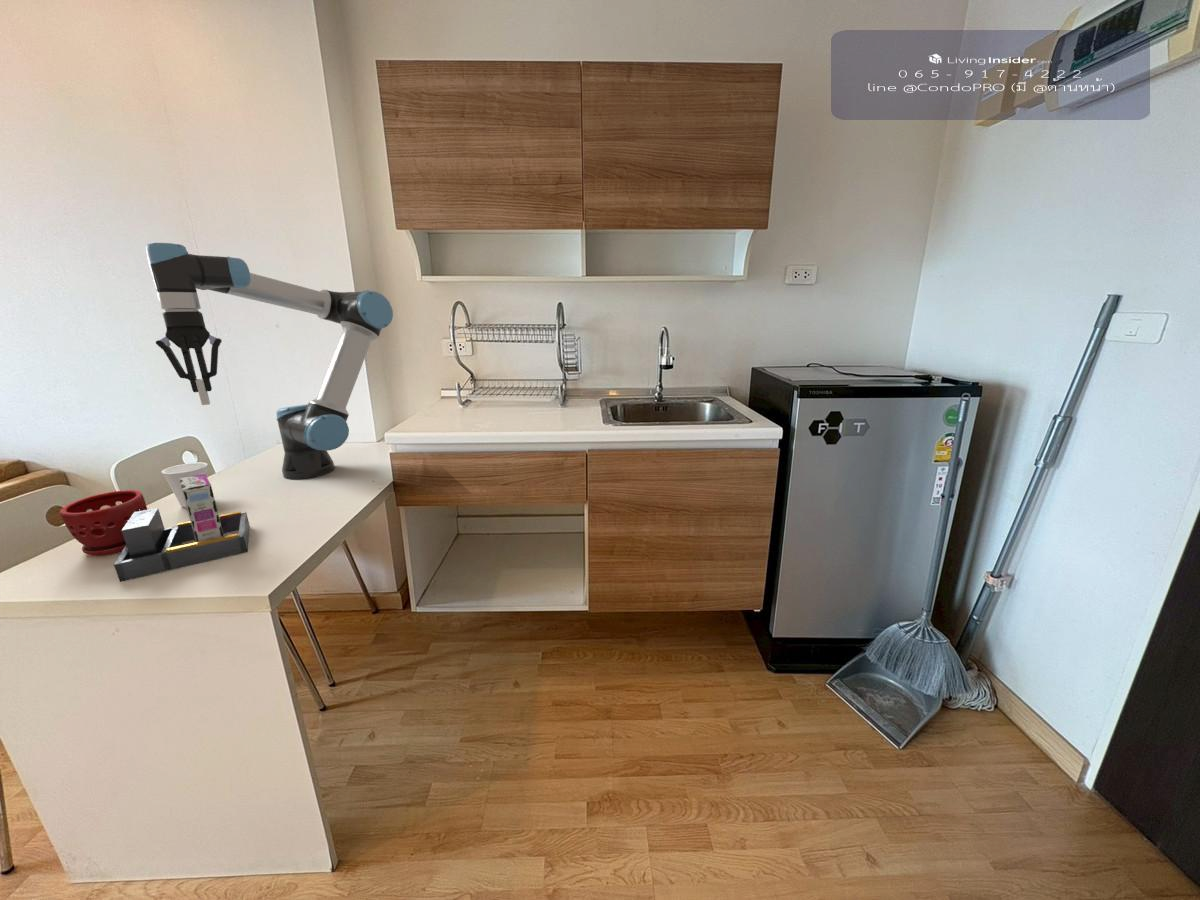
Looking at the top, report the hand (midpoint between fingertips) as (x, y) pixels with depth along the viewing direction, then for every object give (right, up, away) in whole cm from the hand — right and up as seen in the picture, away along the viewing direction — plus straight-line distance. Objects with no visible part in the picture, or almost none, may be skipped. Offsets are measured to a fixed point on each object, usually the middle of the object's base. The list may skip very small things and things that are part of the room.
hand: (206, 403), depth 122 cm
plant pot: (-9, -35, -14) cm, 39 cm away
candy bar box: (+14, -35, -14) cm, 40 cm away
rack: (+11, -35, -16) cm, 40 cm away
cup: (-12, -28, +11) cm, 32 cm away
